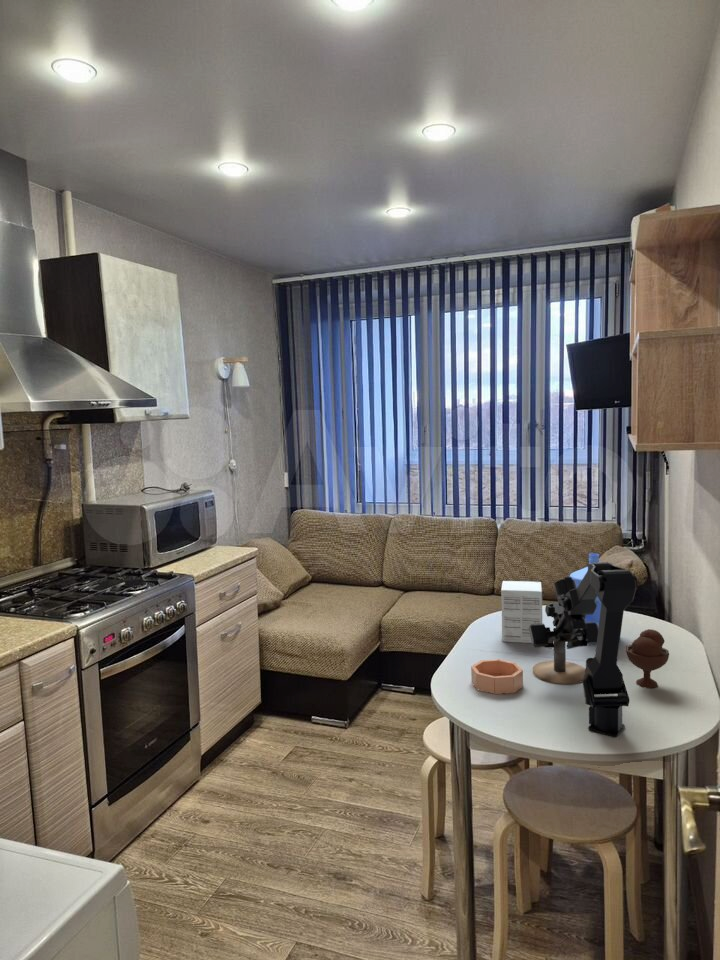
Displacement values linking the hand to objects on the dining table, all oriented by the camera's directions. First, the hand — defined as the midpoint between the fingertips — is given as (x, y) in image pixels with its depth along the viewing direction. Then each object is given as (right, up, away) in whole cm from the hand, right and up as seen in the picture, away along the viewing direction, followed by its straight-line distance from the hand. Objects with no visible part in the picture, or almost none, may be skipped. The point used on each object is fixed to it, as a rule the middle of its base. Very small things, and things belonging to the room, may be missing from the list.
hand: (558, 647), depth 186 cm
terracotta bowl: (-19, -8, -7) cm, 22 cm away
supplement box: (-2, -5, +32) cm, 33 cm away
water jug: (+21, -4, +29) cm, 36 cm away
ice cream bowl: (+21, -8, -10) cm, 25 cm away
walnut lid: (0, -7, -1) cm, 7 cm away
